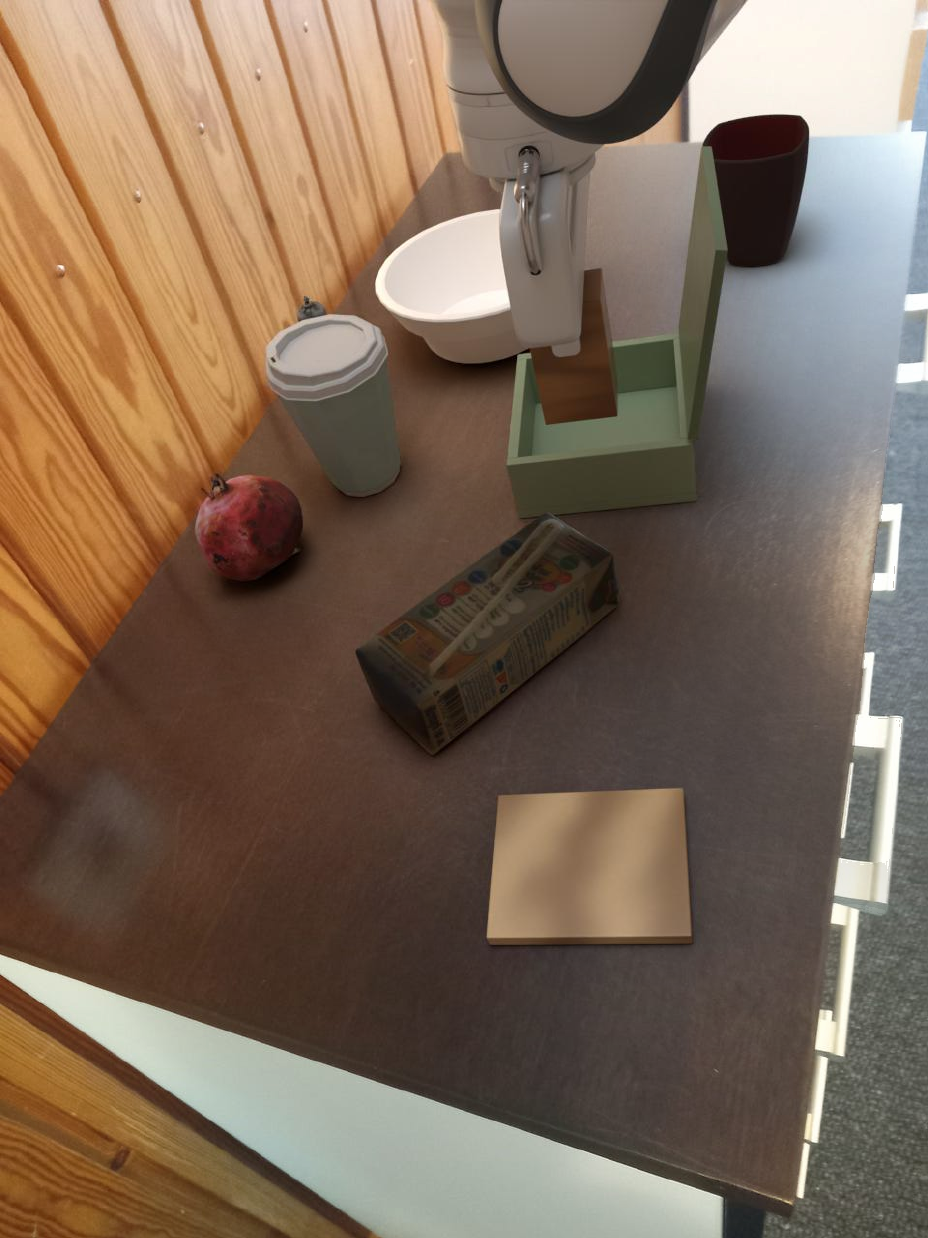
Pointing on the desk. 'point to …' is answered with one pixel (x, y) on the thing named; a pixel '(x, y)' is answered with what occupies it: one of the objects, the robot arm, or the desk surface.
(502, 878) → the board
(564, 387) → the brown wooden block
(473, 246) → the bowl
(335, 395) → the disposable coffee cup
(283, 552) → the fruit
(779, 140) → the dark brown plant pot
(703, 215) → the lid
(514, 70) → the robot arm
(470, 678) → the beverage carton
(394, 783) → the desk surface
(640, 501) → the green box base
